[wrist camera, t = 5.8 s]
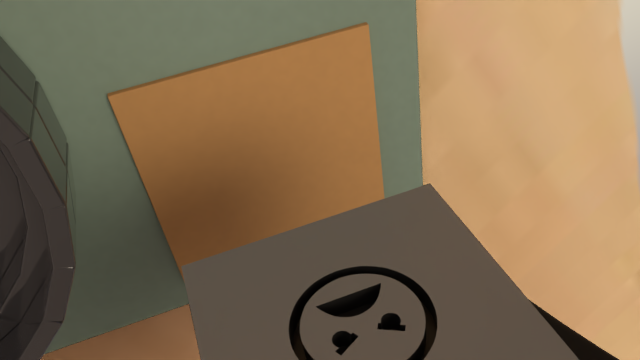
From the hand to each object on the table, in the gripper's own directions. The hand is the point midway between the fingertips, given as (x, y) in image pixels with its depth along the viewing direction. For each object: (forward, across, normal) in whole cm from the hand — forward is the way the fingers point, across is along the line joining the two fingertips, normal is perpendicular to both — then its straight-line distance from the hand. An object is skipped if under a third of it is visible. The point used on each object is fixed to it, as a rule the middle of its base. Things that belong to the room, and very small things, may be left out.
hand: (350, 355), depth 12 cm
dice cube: (+2, 0, 0) cm, 2 cm away
